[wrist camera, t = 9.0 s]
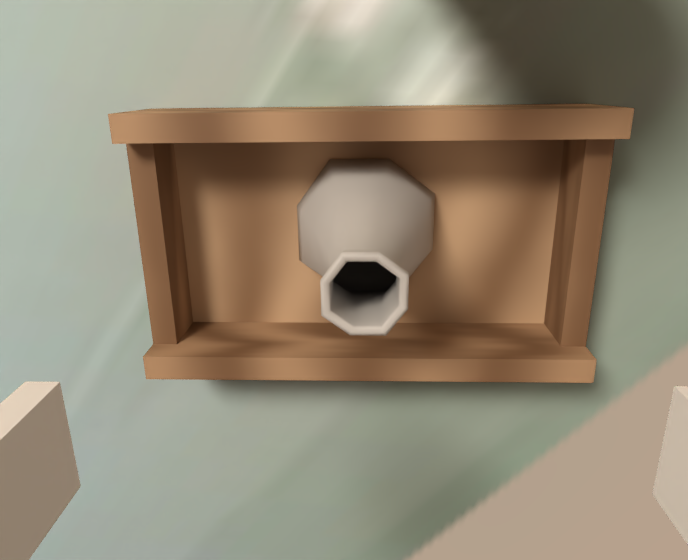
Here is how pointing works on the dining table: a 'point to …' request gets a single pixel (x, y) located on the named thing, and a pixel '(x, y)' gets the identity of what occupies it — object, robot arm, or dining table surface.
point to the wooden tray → (426, 281)
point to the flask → (365, 240)
